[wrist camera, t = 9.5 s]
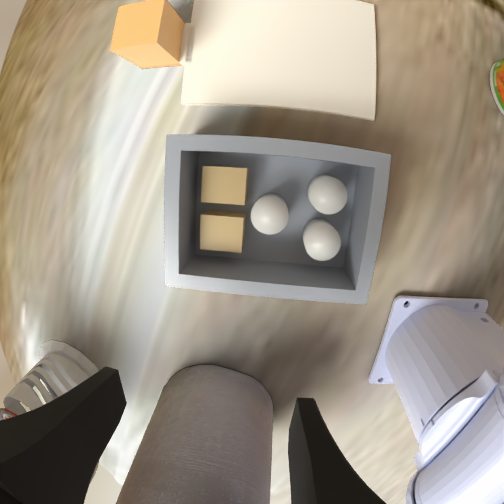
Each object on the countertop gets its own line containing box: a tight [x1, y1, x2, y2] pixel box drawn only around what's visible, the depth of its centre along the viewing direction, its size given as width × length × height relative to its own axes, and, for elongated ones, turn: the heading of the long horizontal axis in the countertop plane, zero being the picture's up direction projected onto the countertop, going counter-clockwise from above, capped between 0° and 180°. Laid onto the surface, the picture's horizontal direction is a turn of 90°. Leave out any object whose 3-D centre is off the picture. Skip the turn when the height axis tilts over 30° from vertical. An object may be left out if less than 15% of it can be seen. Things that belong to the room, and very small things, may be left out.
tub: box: [164, 134, 391, 305], centre depth 16 cm, size 11×8×4 cm
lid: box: [110, 0, 376, 121], centre depth 13 cm, size 15×9×4 cm, turn 86°
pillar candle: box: [116, 365, 273, 504], centre depth 17 cm, size 10×10×15 cm
